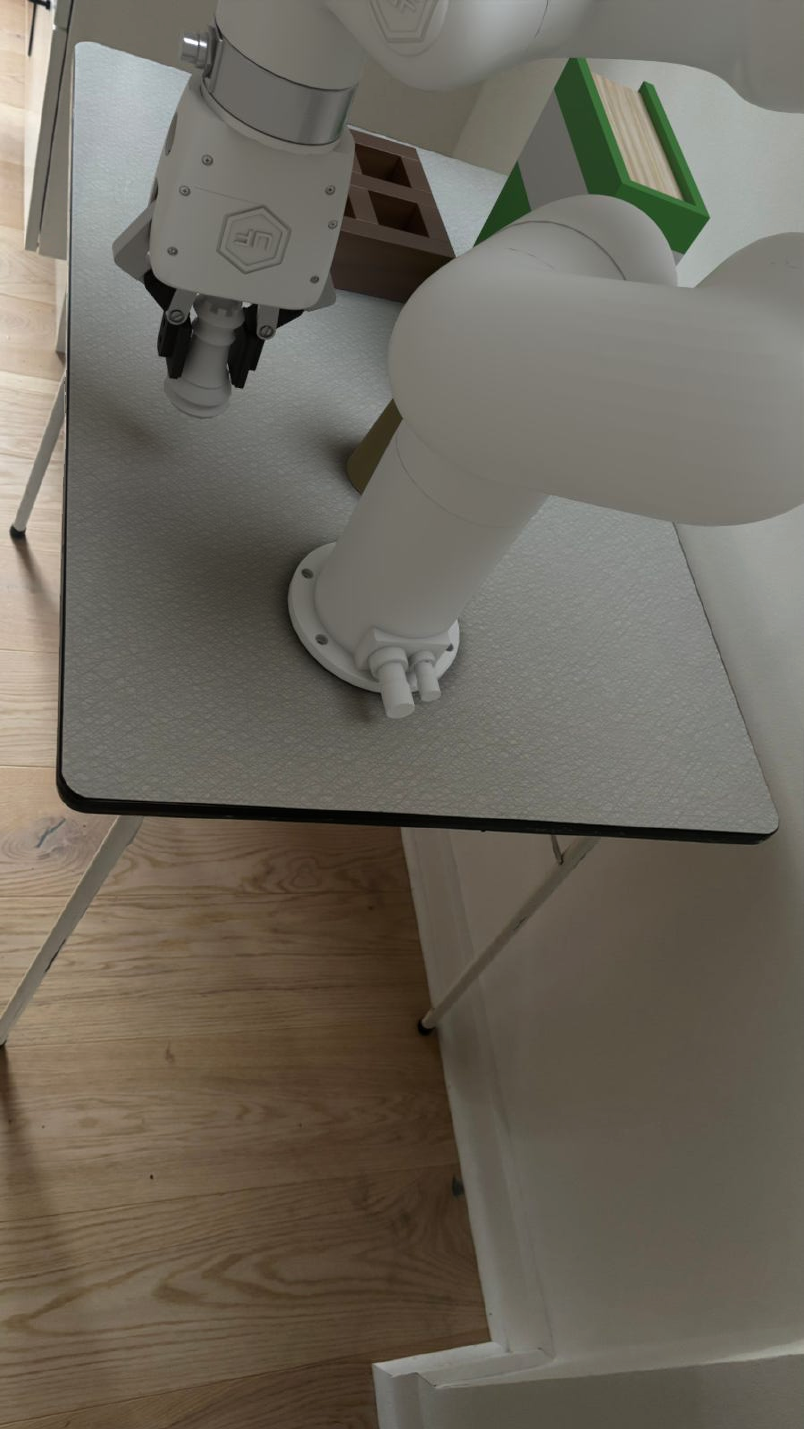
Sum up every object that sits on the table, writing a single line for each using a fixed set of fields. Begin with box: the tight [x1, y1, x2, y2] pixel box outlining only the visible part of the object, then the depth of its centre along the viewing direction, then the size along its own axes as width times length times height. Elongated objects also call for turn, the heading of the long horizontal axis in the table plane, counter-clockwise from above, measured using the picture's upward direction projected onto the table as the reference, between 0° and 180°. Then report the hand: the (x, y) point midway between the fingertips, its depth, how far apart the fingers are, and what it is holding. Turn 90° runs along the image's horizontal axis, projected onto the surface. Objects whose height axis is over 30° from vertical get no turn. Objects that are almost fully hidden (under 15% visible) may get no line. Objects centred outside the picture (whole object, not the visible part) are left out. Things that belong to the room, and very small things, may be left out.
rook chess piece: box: [163, 293, 245, 420], centre depth 64 cm, size 4×4×8 cm
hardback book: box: [471, 58, 711, 267], centre depth 83 cm, size 18×7×24 cm, turn 6°
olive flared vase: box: [346, 397, 403, 495], centre depth 75 cm, size 6×6×11 cm
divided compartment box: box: [330, 127, 457, 304], centre depth 93 cm, size 17×17×6 cm
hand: (204, 367), depth 65 cm, fingers closed on rook chess piece, 3 cm apart
